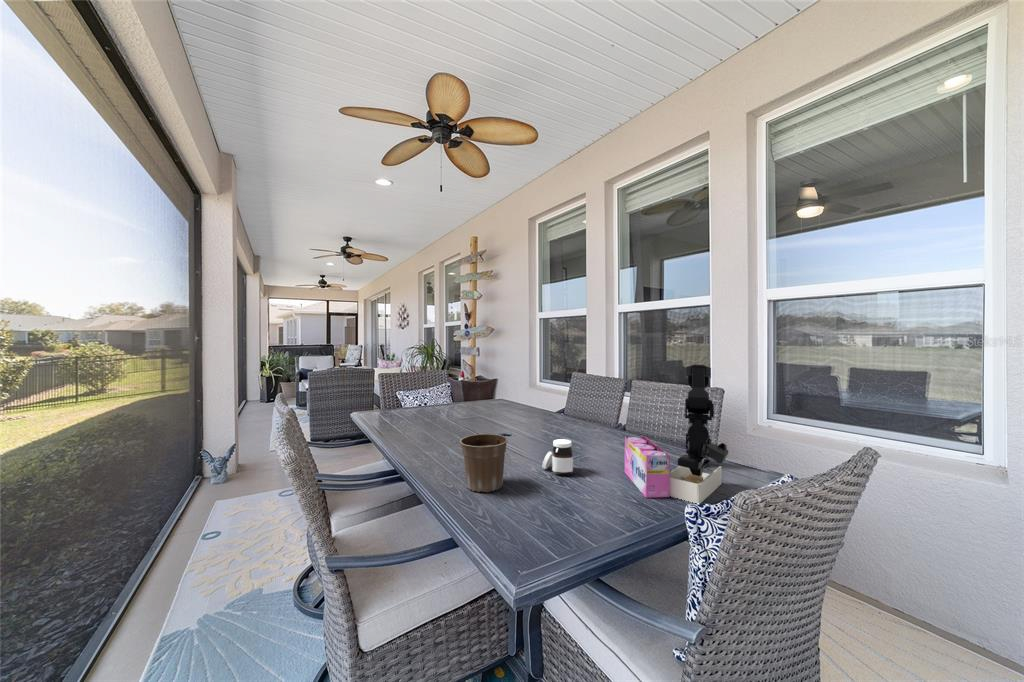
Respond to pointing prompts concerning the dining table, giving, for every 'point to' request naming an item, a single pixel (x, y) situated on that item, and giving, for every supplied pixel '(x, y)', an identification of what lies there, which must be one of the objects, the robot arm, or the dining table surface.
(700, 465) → the robot arm
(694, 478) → the oak block
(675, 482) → the channel
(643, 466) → the gum box
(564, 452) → the spread jar
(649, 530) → the dining table surface
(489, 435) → the plant pot
